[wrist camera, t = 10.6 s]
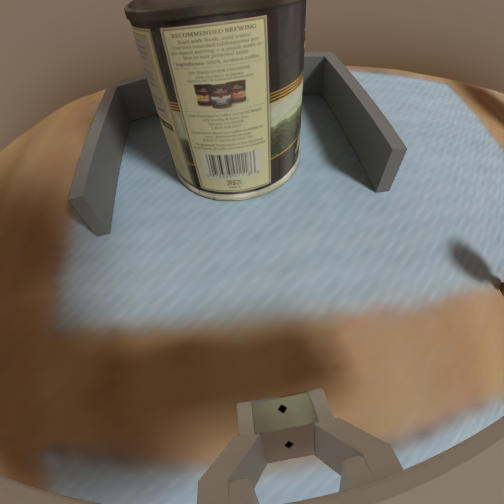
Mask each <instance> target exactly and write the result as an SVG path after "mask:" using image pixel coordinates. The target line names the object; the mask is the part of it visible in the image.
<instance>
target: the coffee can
mask: <svg viewBox="0 0 504 504" xmlns="http://www.w3.org/2000/svg"><path fill="white" fill-rule="evenodd" d="M125 14H126V17H127V19H128V20H130V22H131V26H132V30H133V33H134V37H135V40H136V44H137V47H138V51H139V54H140V57H141V61H142V64H143V67H144V71H145V74H146V77H147V81H148V84H149V87H150V90H151V93H152V97H153V100H154V103H155V106H156V109H157V112H158V115H159V118H160V122H161V125H162V128H163V131H164V134H165V137H166V140H167V143H168V146H169V149H170V152H171V154H172V157H173V160H174V164H175V169H176V172H177V175H178V177H179V179H180V181H182V183H183V184H184V185H185V186H186V187H187V188H189V189H190V190H191V191H193V192H195V193H197V194H198V195H201V196H203V197H207V198H210V199H214V200H227V201H235V200H245V199H250V198H254V197H258V196H261V195H263V194H266V193H269V192H271V191H273V190H274V189H276V188H277V187H279V186H281V185H282V184H283V183H284V182H286V181H287V180H288V179H289V178H290V177H291V175H292V174H293V173H294V171H295V169H296V167H297V165H298V162H299V158H300V151H299V142H300V128H301V108H302V90H303V70H304V50H305V16H306V0H133V1H131V2H130V3H129V4H127V6H126V7H125Z"/></svg>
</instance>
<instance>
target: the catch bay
mask: <svg viewBox="0 0 504 504" xmlns="http://www.w3.org/2000/svg"><path fill="white" fill-rule="evenodd" d="M307 93H322V95H323V96H324V98H325V100H326V101H327V103H328V105H329V106H330V108H331V110H332V111H333V113H334V115H335V116H336V118H337V120H338V121H339V123H340V125H341V127H342V128H343V130H344V132H345V134H346V135H347V137H348V139H349V141H350V143H351V144H352V146H353V148H354V150H355V152H356V154H357V156H358V158H359V160H360V161H361V163H362V165H363V167H364V169H365V171H366V173H367V175H368V177H369V179H370V181H371V183H372V185H373V188H374V190H375V192H384V191H389V190H390V188H391V186H392V183H393V181H394V179H395V176H396V174H397V172H398V169H399V167H400V165H401V162H402V160H403V157H404V155H405V153H406V150H407V148H406V146H405V145H404V143H403V142H402V140H401V139H400V137H399V136H398V134H397V133H396V132H395V130H394V129H393V127H392V126H391V124H390V123H389V122H388V120H387V119H386V117H385V116H384V115H383V113H382V112H381V111H380V109H379V108H378V107H377V105H376V104H375V103H374V101H373V100H372V99H371V97H370V96H369V95H368V94H367V92H366V91H365V90H364V89H363V87H362V86H361V85H360V84H359V82H358V81H357V80H356V79H355V78H354V76H353V75H352V74H351V73H350V72H349V70H348V69H347V68H346V67H345V66H344V65H343V64H342V62H341V61H340V60H339V59H338V58H337V57H336V56H335V55H334V54H333V53H332V52H304V70H303V90H302V94H307ZM157 114H158V112H157V109H156V106H155V103H154V100H153V97H152V93H151V90H150V87H149V84H148V81H147V77H146V74H144V75H140V76H136V77H133V78H129V79H125V80H122V81H119V82H115V83H112V84H109V85H108V87H107V89H106V91H105V93H104V96H103V98H102V100H101V103H100V105H99V107H98V110H97V112H96V115H95V117H94V120H93V123H92V125H91V128H90V130H89V133H88V136H87V139H86V142H85V144H84V147H83V150H82V153H81V156H80V159H79V163H78V166H77V169H76V172H75V176H74V179H73V183H72V186H71V190H70V193H69V197H68V201H69V202H70V204H71V205H72V206H73V207H74V209H75V210H76V211H77V213H78V214H79V215H80V216H81V218H82V219H83V220H84V221H85V223H86V224H87V225H88V226H89V228H90V229H91V230H92V231H93V232H94V234H95V235H96V236H100V235H104V234H109V233H110V230H111V222H112V214H113V207H114V200H115V194H116V188H117V182H118V176H119V171H120V165H121V160H122V155H123V150H124V146H125V141H126V137H127V132H128V128H129V124H130V121H133V120H137V119H141V118H145V117H149V116H153V115H157Z"/></svg>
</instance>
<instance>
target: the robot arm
mask: <svg viewBox="0 0 504 504" xmlns="http://www.w3.org/2000/svg"><path fill="white" fill-rule="evenodd" d="M236 408H237V426H238V437H234V438H233V439H232V440H231V441H230V443H229V444H228V445H227V447H226V448H225V449H224V450H223V452H222V453H221V454H220V455H219V457H218V458H217V459H216V460H215V462H214V463H213V464H212V465H211V467H210V468H209V469H208V470H207V471H206V473H205V474H204V475H203V476H202V477H201V479H200V480H199V481H198V495H197V504H259V502H258V499H257V496H256V493H255V490H254V487H255V485H256V484H257V482H258V480H259V478H260V476H261V475H262V473H263V471H264V469H265V467H266V465H267V463H272V462H277V461H282V460H287V459H292V458H298V457H304V456H309V455H314V454H315V456H316V457H318V458H319V459H320V460H321V461H323V462H324V463H325V464H326V465H328V466H329V467H330V468H331V469H333V470H334V471H335V472H337V473H338V474H339V475H341V481H340V488H339V492H336V493H333V494H329V495H325V496H321V497H316V498H312V499H307V500H302V501H297V502H292V503H286V504H504V416H503V417H502V418H500V419H499V420H497V421H496V422H494V423H493V424H491V425H489V426H488V427H486V428H485V429H483V430H481V431H480V432H478V433H477V434H475V435H473V436H471V437H470V438H468V439H466V440H464V441H463V442H461V443H459V444H457V445H455V446H454V447H452V448H450V449H448V450H446V451H444V452H442V453H440V454H438V455H436V456H434V457H432V458H430V459H428V460H425V461H423V462H421V463H419V464H416V465H414V466H412V467H409V468H407V469H405V470H403V468H402V466H401V464H400V462H399V460H398V458H397V457H396V455H395V453H394V451H393V449H392V447H391V445H390V444H388V443H386V442H384V441H382V440H380V439H378V438H376V437H374V436H372V435H370V434H369V433H367V432H365V431H363V430H361V429H359V428H357V427H355V426H353V425H352V424H350V423H348V422H346V421H344V420H342V419H341V418H334V416H333V413H332V411H331V408H330V406H329V403H328V401H327V399H326V396H325V394H324V391H323V389H322V388H318V389H313V390H309V391H305V392H301V393H296V394H291V395H286V396H281V397H276V398H269V399H262V400H255V401H252V402H251V401H249V402H240V403H237V406H236ZM0 504H100V503H95V502H89V501H84V500H80V499H75V498H71V497H67V496H63V495H59V494H55V493H52V492H48V491H45V490H42V489H38V488H35V487H32V486H29V485H26V484H23V483H20V482H18V481H15V480H12V479H10V478H7V477H5V476H2V475H0Z"/></svg>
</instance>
